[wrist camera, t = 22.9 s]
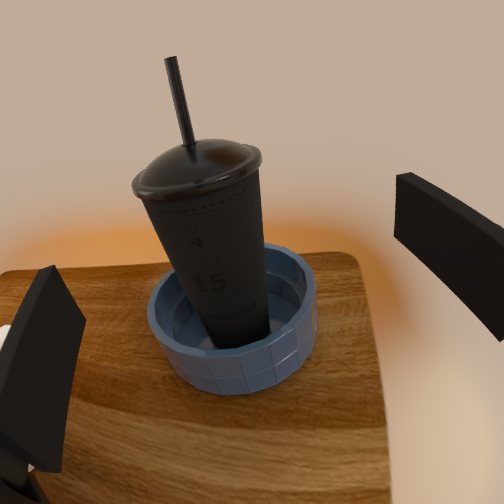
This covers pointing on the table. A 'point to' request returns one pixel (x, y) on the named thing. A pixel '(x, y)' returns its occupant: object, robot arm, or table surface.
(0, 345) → the figurine
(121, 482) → the table surface
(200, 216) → the drinking cup
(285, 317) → the bowl
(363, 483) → the table surface
